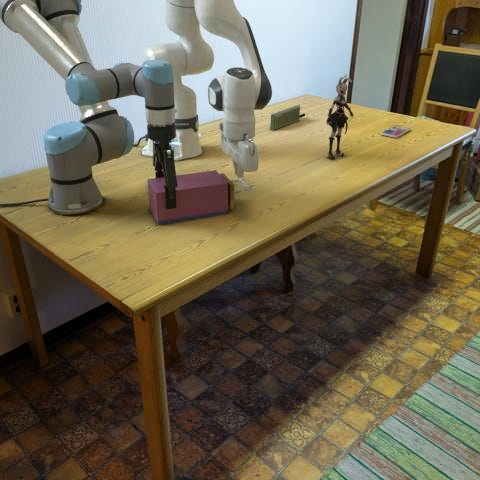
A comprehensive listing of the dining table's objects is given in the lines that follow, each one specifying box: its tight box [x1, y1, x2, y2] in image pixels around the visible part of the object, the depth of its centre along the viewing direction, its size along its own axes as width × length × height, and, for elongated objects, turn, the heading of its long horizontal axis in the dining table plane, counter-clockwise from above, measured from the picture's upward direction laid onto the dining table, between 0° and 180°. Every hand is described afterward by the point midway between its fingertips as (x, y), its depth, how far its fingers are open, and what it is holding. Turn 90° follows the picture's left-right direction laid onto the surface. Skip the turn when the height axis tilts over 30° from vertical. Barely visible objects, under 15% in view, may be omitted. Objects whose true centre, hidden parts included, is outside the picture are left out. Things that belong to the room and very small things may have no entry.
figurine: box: [325, 74, 354, 160], centre depth 182 cm, size 15×6×30 cm, turn 132°
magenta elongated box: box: [146, 169, 229, 225], centre depth 145 cm, size 21×10×10 cm, turn 111°
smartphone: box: [380, 124, 411, 139], centre depth 215 cm, size 7×1×15 cm
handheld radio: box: [269, 104, 306, 131], centre depth 223 cm, size 7×3×25 cm
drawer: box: [219, 172, 252, 209], centre depth 147 cm, size 25×9×7 cm, turn 111°
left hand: (166, 200), depth 143 cm, fingers closed on magenta elongated box, 10 cm apart
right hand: (239, 176), depth 148 cm, fingers closed
